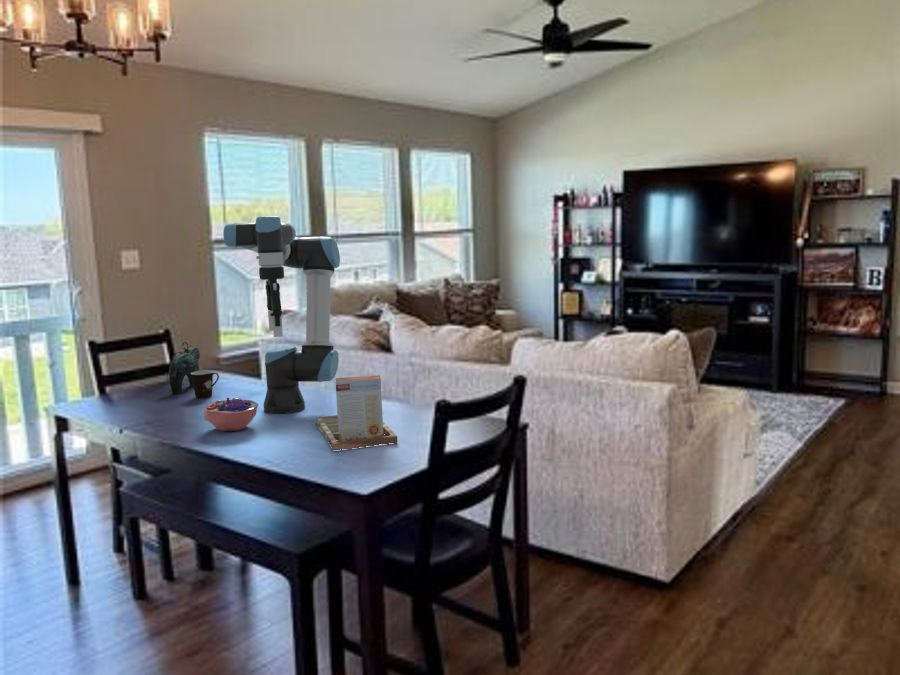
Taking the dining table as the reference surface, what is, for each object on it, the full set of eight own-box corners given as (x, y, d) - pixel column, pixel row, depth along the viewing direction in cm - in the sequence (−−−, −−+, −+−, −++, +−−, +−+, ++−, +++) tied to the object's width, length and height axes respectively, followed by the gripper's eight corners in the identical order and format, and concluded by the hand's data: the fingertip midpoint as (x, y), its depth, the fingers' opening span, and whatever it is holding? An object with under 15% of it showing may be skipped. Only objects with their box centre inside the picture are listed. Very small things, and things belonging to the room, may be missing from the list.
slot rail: (316, 424, 255) (316, 417, 255) (373, 417, 261) (373, 410, 261) (333, 452, 224) (333, 444, 224) (397, 443, 231) (397, 436, 230)
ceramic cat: (192, 383, 327) (188, 338, 323) (206, 383, 325) (202, 339, 322) (167, 394, 307) (162, 347, 304) (181, 394, 306) (177, 347, 303)
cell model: (236, 418, 266) (234, 388, 264) (269, 428, 253) (267, 396, 251) (193, 430, 253) (191, 397, 251) (226, 440, 240) (223, 406, 238)
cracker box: (383, 438, 237) (380, 374, 234) (384, 443, 231) (381, 378, 228) (339, 441, 235) (335, 376, 232) (338, 446, 229) (335, 381, 226)
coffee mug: (195, 400, 295) (193, 375, 294) (190, 396, 303) (188, 372, 301) (224, 395, 301) (222, 372, 300) (219, 391, 309) (217, 368, 307)
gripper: (255, 264, 240) (260, 329, 244) (262, 269, 217) (267, 340, 220) (279, 263, 243) (283, 327, 246) (288, 267, 219) (292, 338, 223)
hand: (275, 333), depth 233 cm, fingers open, 13 cm apart
